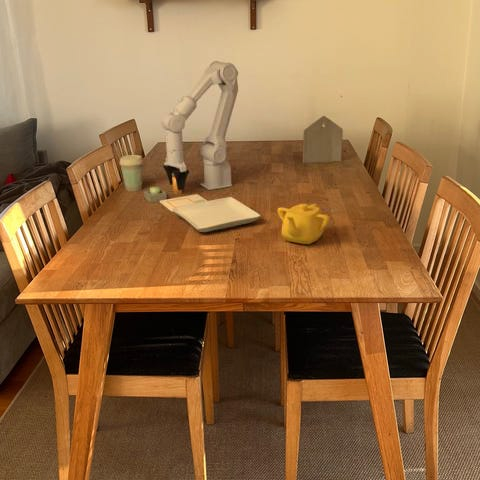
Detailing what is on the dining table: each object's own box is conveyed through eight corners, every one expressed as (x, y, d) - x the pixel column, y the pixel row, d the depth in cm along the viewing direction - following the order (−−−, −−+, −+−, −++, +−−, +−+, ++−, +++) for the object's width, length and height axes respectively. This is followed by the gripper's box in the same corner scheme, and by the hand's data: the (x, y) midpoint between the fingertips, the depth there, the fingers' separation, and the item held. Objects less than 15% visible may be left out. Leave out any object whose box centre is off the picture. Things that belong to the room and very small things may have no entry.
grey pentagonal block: (337, 157, 249) (339, 111, 242) (341, 161, 241) (343, 115, 234) (299, 158, 248) (300, 113, 241) (303, 163, 241) (304, 116, 233)
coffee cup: (140, 193, 206) (137, 160, 202) (118, 192, 208) (115, 159, 203) (149, 186, 214) (146, 154, 209) (127, 185, 216) (124, 154, 211)
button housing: (160, 195, 204) (160, 188, 203) (166, 199, 199) (166, 192, 198) (144, 198, 201) (144, 191, 200) (150, 202, 196) (149, 195, 195)
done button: (158, 194, 202) (157, 185, 200) (161, 196, 199) (161, 188, 198) (149, 195, 200) (148, 187, 199) (152, 198, 197) (151, 189, 196)
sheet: (197, 195, 202) (197, 193, 202) (211, 204, 193) (211, 203, 192) (159, 202, 197) (159, 200, 196) (172, 212, 187) (172, 210, 186)
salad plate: (198, 238, 166) (198, 227, 165) (171, 217, 183) (171, 207, 182) (262, 225, 175) (262, 214, 173) (231, 205, 192) (230, 196, 191)
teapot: (332, 247, 157) (334, 211, 153) (286, 251, 155) (287, 215, 152) (317, 229, 170) (318, 196, 166) (275, 233, 168) (275, 199, 164)
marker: (180, 191, 207) (178, 171, 204) (183, 193, 205) (182, 173, 202) (172, 193, 206) (170, 172, 203) (175, 195, 203) (173, 174, 201)
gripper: (156, 146, 204) (159, 183, 209) (171, 154, 192) (174, 193, 197) (175, 144, 207) (177, 180, 212) (191, 152, 195) (193, 190, 200)
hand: (177, 186), depth 204 cm, fingers open, 7 cm apart
